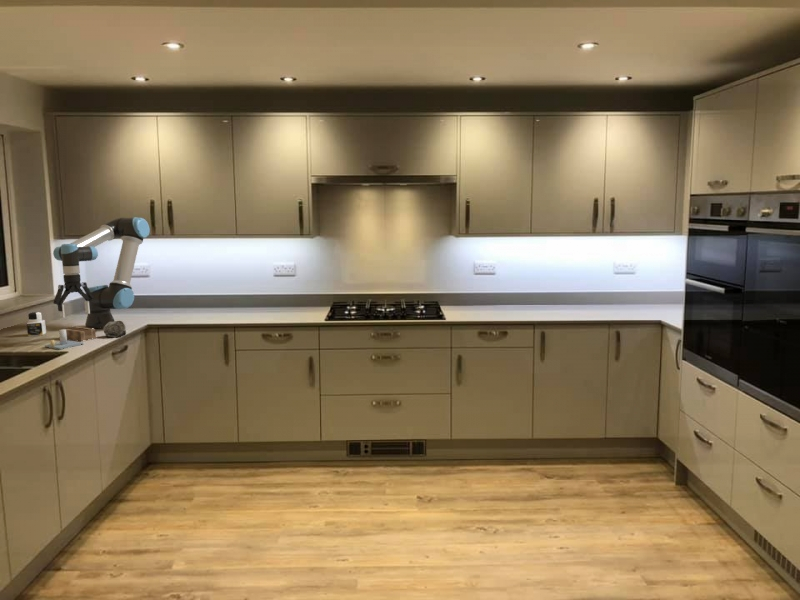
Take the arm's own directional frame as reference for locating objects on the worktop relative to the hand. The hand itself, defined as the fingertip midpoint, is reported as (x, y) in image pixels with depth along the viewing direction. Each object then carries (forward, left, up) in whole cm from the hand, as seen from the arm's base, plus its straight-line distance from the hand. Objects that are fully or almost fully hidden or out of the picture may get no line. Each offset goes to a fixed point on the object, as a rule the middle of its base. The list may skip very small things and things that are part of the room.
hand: (75, 315), depth 312 cm
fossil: (-12, +13, -13) cm, 22 cm away
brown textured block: (0, 0, -12) cm, 12 cm away
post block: (+14, +10, -12) cm, 21 cm away
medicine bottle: (+3, -31, -12) cm, 34 cm away
